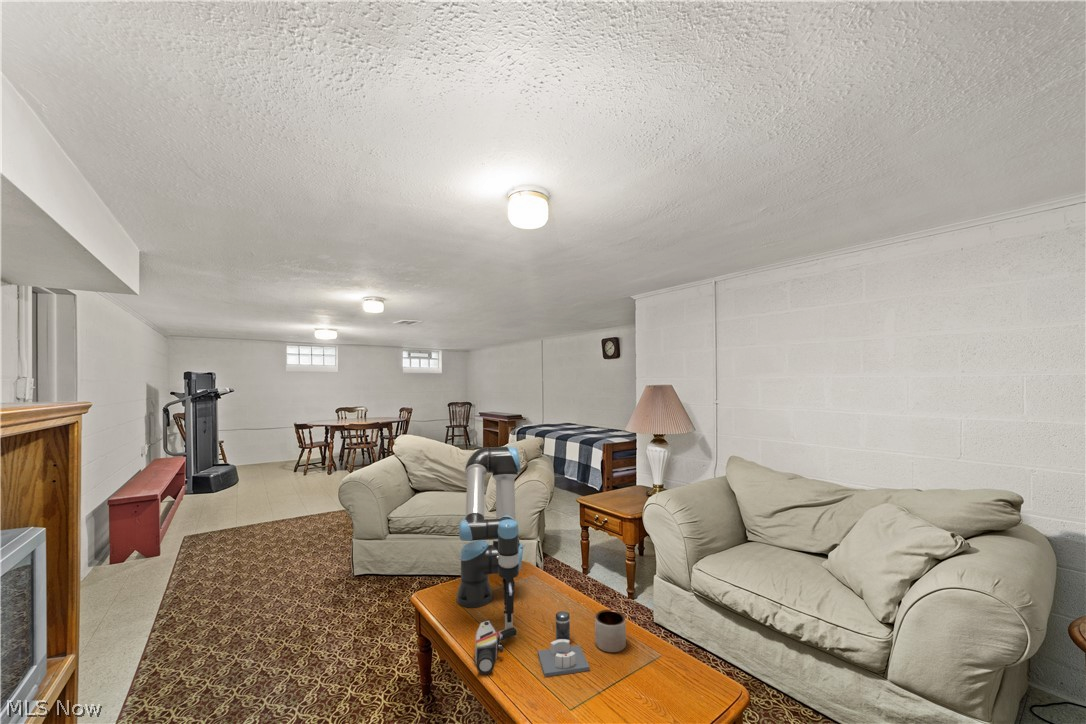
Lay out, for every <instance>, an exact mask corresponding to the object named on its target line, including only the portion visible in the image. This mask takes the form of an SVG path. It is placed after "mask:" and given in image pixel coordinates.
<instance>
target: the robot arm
mask: <svg viewBox="0 0 1086 724" xmlns="http://www.w3.org/2000/svg"><path fill="white" fill-rule="evenodd" d="M521 468H522V467H521V461H520V454H519V450H518V449H517V447H515V446H507V445H506V446H493V447H492V446H491V447H489V446H485V447H484V446H483V447H481V448H478V449H477V450H476V451H474V452H473V453H472V455H471V456H470V457H469V458H468V460H467V462H466V464H465V470H464V472H465V473H464V474H465V477H466V479H467V480H466V494H465V495H466V496H465V515H464V517H465V519H464V520H463V519H462V520H460V521H459V528H458V529H459V533H458V534H459V535H458V536H459V539H460V541H462V542H468V543H466V544H465V545H463V546H462V548H461V551H460V558H459V560H460V583H459V587H458V590H457V592H456V602H457V603H458V605H460V606H461V607H465V608H478V607H483V606H486V605H488V604H489V603H491V601H492V600H493V591H492V587H491V584H490V580H489V575H495V574H498V576H499V578H501V579H502V584H503V586H502V587H503V601H504V602H503V605H504V610H503V614H504V629H508V628H511V627H514V621H513V620H514V619H513V618H514V615H513V614H514V612H515V611H514V609H515V608H514V605H515V602H514V601H515V600H514V599H515V581H514V579H516V578H517V577H518V575H519V573H520V570H521V567H522V563H523V551H524V548H523V547H524V544H523V543H522V542H520V538H519V533H520V532H519V523H518V521H516V496H515V495H516V493H515V492H516V491H515V490H516V489H515V488H516V487H515V486H516V485H515V483H516V482H515V480H516V478H517V477H518V475H519V474H518V473H519V472H521ZM490 473H491V474H492V475H491V476H492V478H493V479H494V480H495V517H496V518H485V477H486V476H487V474H490ZM487 540H488V541H490V540H492V544H489V543H488V541H487Z"/></svg>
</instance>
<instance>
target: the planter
mask: <svg viewBox="0 0 1086 724" xmlns="http://www.w3.org/2000/svg"><path fill="white" fill-rule="evenodd" d="M594 620H595V621H594V624H595V625H594V627H595V629H594V641H595V645H596V647H597V648H598V649H599V650H601V651H603V652H606V653H612V654H615V653H619V652H621V651H623V650H624V649H625V648H626V645H627V635H626V630H627V629H626V616H625V615H624V614H623V613H622V612H620V611H618V610H614V609H602V610H600V611H597V613H596V614H595V617H594Z"/></svg>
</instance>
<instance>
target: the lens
mask: <svg viewBox="0 0 1086 724" xmlns="http://www.w3.org/2000/svg"><path fill="white" fill-rule="evenodd" d="M570 619H571V618H570V613H569V612H567V611H565V610H564V611H558V612H556V613H555V640H558V639H566V640H570V641H571V638H570V637H571V633H570V632H571V628H570V627H571V626H570V625H571V623H570V622H571V621H570Z"/></svg>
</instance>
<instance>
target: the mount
mask: <svg viewBox="0 0 1086 724" xmlns="http://www.w3.org/2000/svg"><path fill="white" fill-rule="evenodd" d="M570 643H571V639H570V640H566V639H558V640H556V639H555V640H553V641H551V642H550V648H547V649H540V650H537V656H538V657H537V658H538V659H539V663H540V666H541V670H542V673H543V676H544V678H547V677H548V678H549V677H554V676H555V677H556V676H561V675H562V676H563V675H570V674H576V673H583V672H589V671H591V670H590V669H591V666H590V665H589V663H588V660H587V658H586V656H585V653H584V652H583V649H582V647H581V645H580V644H577V645H571V644H570Z"/></svg>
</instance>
